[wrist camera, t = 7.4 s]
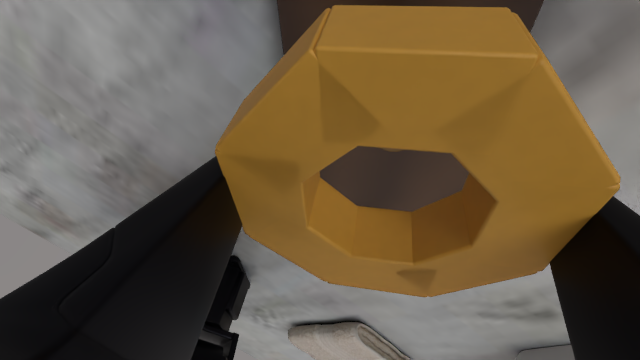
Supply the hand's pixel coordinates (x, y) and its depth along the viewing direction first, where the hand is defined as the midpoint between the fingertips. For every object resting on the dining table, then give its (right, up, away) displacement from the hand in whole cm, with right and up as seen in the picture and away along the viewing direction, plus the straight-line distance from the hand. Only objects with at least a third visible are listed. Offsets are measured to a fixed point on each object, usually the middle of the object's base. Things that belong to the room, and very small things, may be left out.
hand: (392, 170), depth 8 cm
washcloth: (+3, -24, +38) cm, 45 cm away
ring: (0, 0, 0) cm, 0 cm away
